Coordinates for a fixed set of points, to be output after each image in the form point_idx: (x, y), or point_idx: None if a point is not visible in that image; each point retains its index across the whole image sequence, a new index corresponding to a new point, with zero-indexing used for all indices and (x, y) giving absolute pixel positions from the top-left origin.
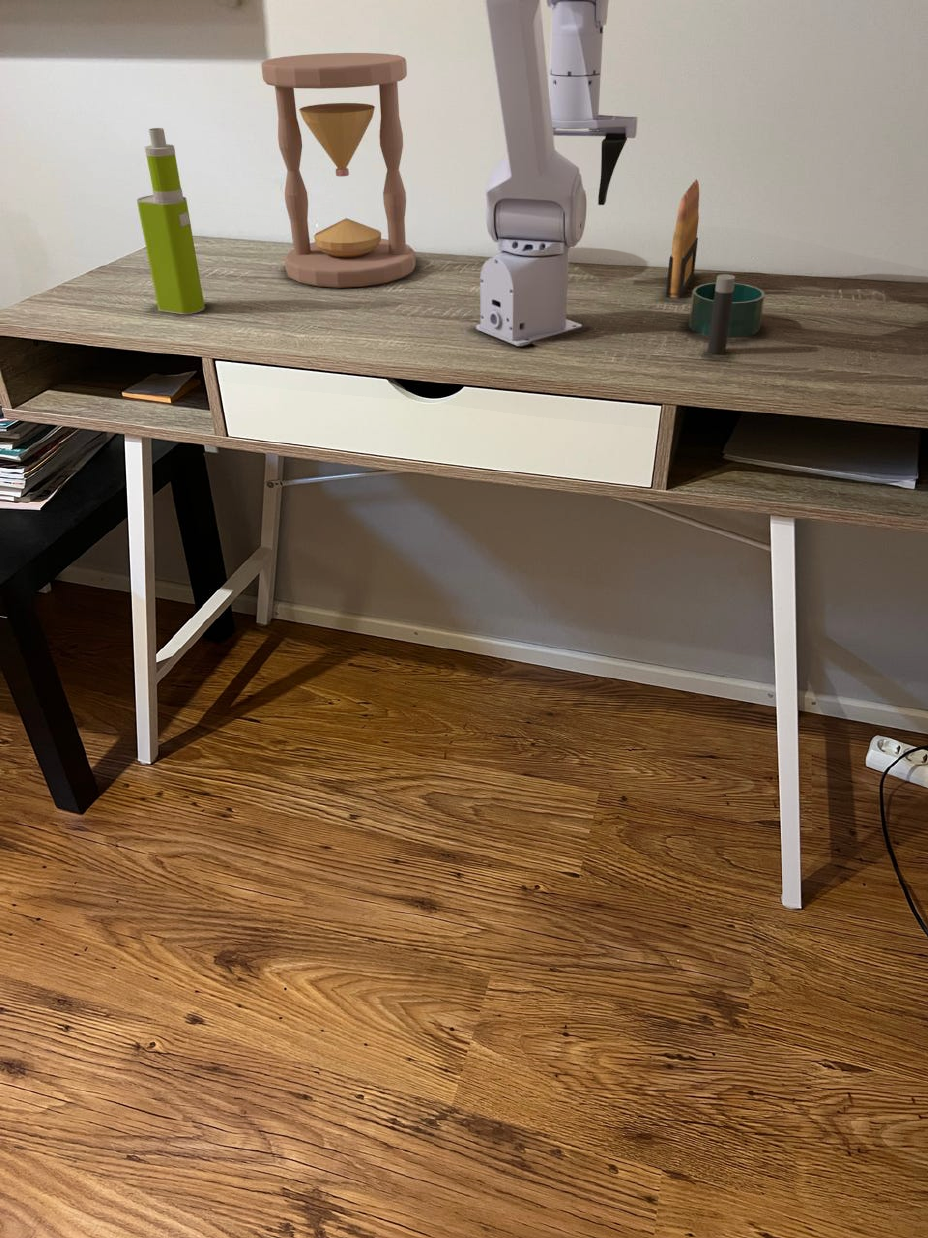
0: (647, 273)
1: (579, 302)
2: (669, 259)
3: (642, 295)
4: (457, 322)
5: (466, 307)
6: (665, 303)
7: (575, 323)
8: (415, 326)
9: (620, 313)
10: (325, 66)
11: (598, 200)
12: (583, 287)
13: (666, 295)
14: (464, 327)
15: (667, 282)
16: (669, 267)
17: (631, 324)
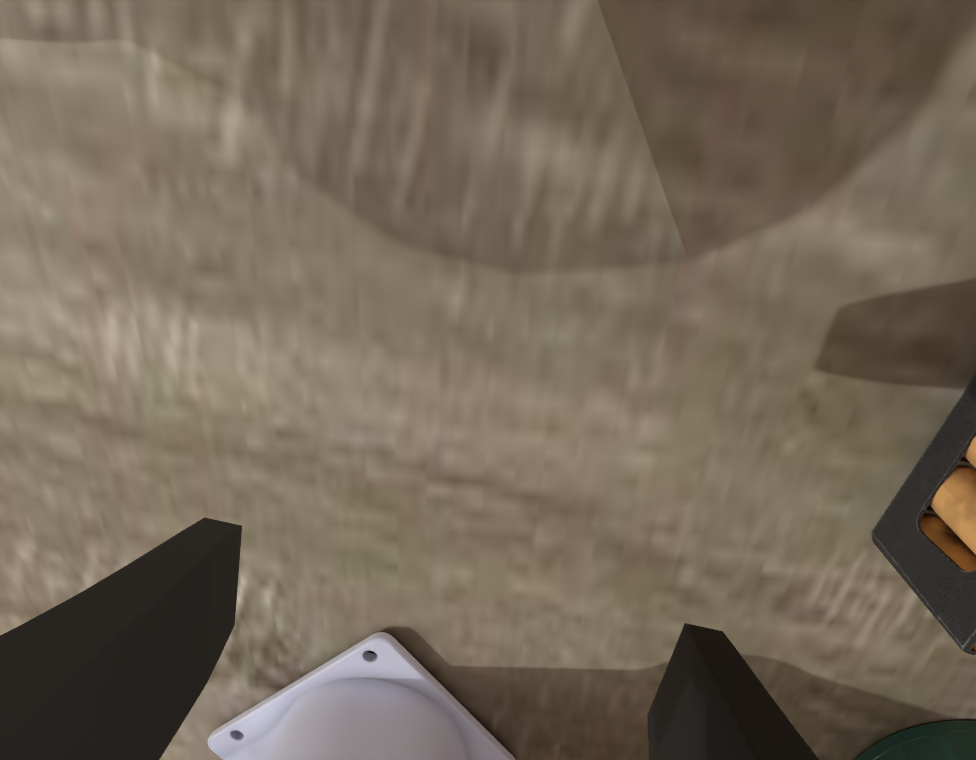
0: (943, 129)
1: (535, 526)
2: (956, 643)
3: (800, 467)
4: None
5: (139, 544)
6: (858, 562)
7: (496, 758)
8: None
9: (662, 641)
10: None
11: (650, 748)
12: (573, 346)
13: (880, 549)
14: None
15: (904, 579)
16: (939, 622)
17: None
